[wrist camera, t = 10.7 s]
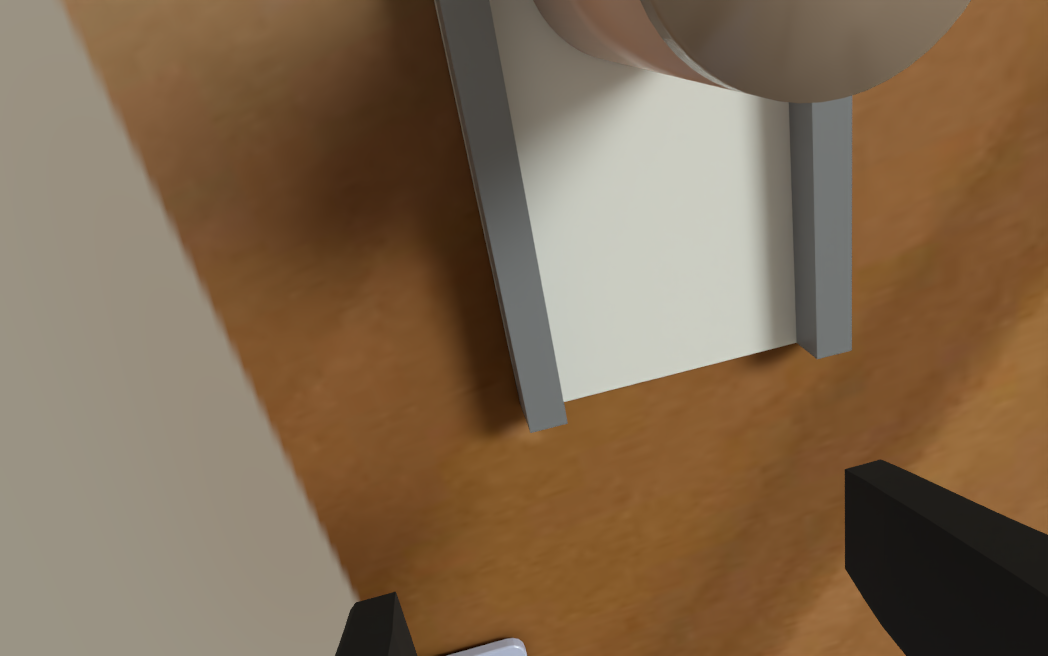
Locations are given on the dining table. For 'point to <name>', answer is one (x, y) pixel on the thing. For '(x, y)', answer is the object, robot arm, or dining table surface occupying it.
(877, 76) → the terracotta jar
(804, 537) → the dining table surface
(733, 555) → the dining table surface
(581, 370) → the pusher lane
